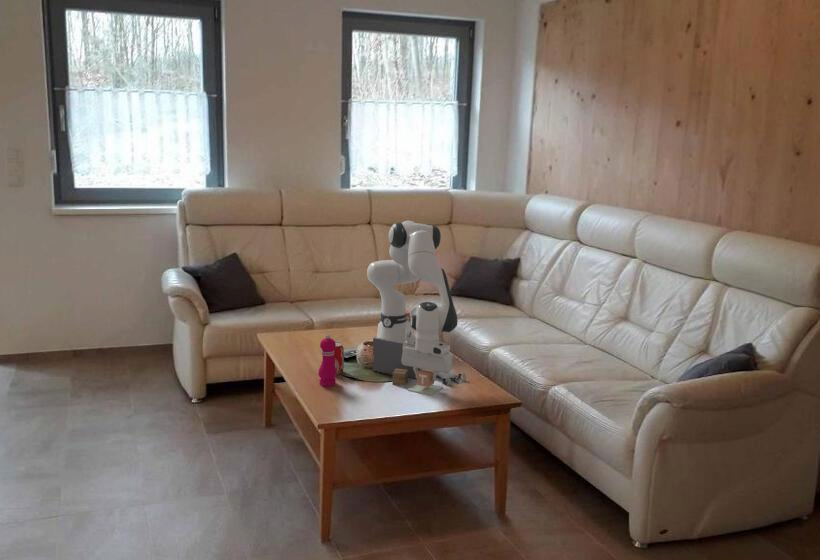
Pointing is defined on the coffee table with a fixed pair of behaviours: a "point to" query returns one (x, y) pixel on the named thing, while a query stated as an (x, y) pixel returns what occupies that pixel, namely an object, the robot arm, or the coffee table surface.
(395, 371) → the walnut block
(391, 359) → the screen
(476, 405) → the coffee table surface
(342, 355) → the soda can
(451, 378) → the car model
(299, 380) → the coffee table surface
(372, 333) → the coffee table surface
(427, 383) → the letter block
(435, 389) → the felt mat
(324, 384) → the pepper mill
